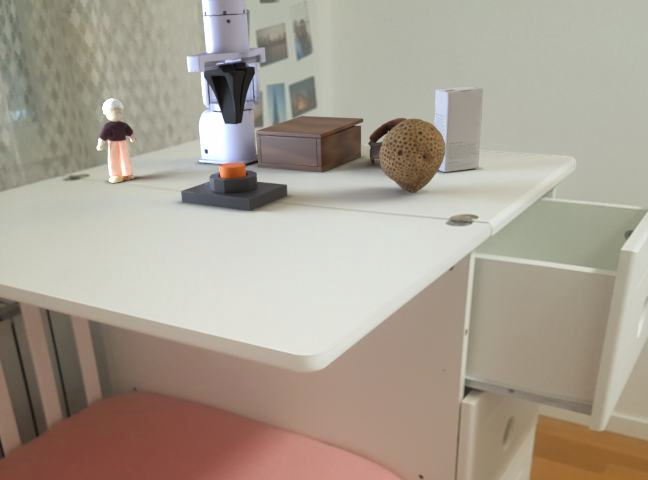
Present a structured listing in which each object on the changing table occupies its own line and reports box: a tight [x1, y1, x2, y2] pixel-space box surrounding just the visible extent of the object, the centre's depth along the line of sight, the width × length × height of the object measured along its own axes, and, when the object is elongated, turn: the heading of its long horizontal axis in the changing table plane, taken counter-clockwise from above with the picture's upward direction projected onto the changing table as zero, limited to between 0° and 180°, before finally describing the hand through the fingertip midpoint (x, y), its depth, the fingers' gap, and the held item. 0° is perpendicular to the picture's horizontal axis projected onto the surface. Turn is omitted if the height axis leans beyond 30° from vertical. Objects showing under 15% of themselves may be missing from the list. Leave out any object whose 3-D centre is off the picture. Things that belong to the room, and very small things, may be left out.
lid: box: [255, 115, 364, 138], centre depth 121 cm, size 14×13×1 cm
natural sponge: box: [379, 118, 445, 193], centre depth 98 cm, size 9×9×10 cm
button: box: [219, 162, 247, 178], centre depth 100 cm, size 4×4×2 cm
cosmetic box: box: [433, 85, 484, 173], centre depth 110 cm, size 6×4×12 cm
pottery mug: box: [367, 117, 408, 166], centre depth 118 cm, size 12×10×8 cm
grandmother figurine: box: [96, 97, 138, 184], centre depth 115 cm, size 8×4×13 cm, turn 152°
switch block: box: [180, 169, 288, 212], centre depth 100 cm, size 12×9×4 cm
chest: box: [255, 125, 362, 173], centre depth 122 cm, size 14×13×5 cm
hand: (233, 123), depth 99 cm, fingers closed
